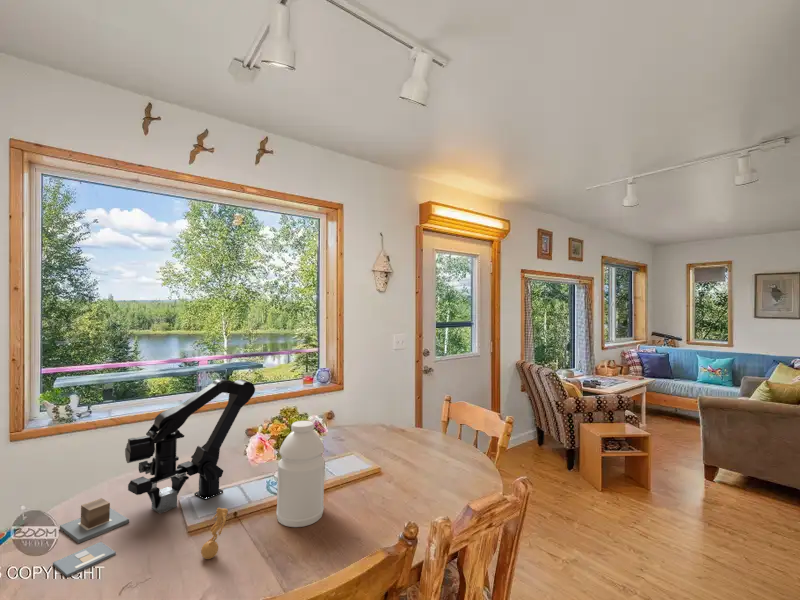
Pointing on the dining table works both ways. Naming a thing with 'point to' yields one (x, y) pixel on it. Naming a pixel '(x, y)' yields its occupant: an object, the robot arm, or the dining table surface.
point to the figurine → (214, 535)
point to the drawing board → (83, 559)
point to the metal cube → (166, 500)
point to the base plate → (84, 533)
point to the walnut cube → (95, 513)
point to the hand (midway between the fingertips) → (164, 504)
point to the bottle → (300, 477)
